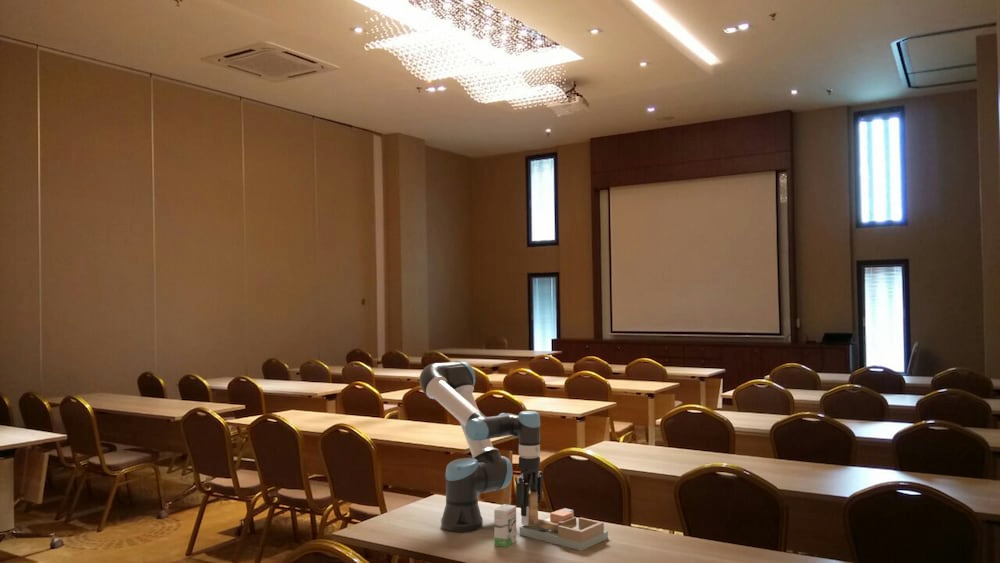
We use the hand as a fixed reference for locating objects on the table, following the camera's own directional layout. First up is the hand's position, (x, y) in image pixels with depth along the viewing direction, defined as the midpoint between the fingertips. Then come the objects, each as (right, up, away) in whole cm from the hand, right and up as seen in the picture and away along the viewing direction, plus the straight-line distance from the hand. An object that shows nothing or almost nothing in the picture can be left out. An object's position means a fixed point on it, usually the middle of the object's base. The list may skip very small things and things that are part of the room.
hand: (529, 523), depth 254 cm
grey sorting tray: (+12, -3, -4) cm, 13 cm away
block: (+11, -1, -3) cm, 11 cm away
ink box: (-8, -3, -10) cm, 14 cm away
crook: (+6, 0, -2) cm, 7 cm away
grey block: (+14, -4, +14) cm, 21 cm away
